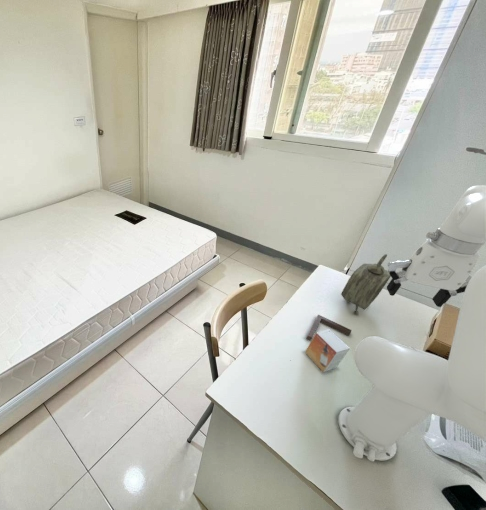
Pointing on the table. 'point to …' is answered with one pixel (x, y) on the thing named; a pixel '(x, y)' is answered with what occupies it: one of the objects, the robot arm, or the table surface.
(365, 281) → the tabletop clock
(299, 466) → the table surface
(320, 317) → the corner stop
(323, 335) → the small box
